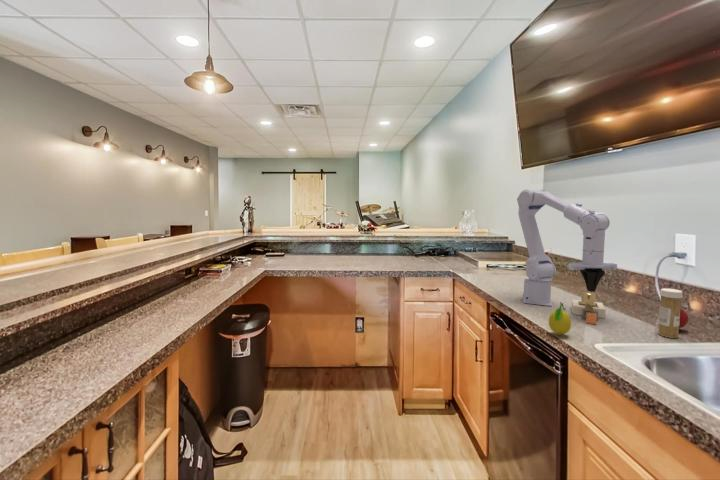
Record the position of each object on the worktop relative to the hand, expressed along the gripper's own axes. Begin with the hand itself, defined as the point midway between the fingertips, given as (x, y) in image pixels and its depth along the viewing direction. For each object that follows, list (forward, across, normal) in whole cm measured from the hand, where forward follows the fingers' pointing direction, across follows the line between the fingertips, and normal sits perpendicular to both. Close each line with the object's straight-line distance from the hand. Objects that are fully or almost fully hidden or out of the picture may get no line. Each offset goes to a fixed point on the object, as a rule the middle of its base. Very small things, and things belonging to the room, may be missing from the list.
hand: (591, 291), depth 110 cm
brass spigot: (+9, +2, +5) cm, 11 cm away
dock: (+9, +2, +5) cm, 11 cm away
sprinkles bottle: (+9, +12, -16) cm, 22 cm away
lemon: (+9, -18, -16) cm, 26 cm away
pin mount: (+9, -1, -1) cm, 9 cm away
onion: (+9, +18, -11) cm, 23 cm away
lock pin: (+9, -2, -3) cm, 10 cm away
